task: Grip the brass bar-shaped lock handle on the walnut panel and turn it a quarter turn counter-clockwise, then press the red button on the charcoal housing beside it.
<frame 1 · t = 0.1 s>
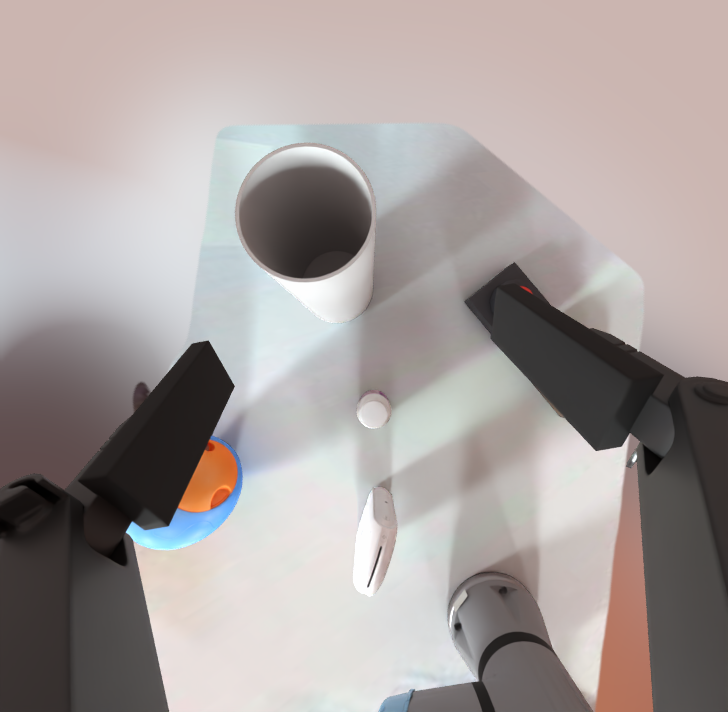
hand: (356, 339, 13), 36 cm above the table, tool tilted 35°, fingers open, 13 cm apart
pill bottle: (373, 404, 49), on the table
treat dispenser ball: (215, 466, 49), on the table
cylinder vase: (338, 289, 49), on the table
button: (518, 300, 44), point 4 cm above the table, slide at 0.1 cm
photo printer: (374, 513, 48), on the table
button box: (504, 305, 48), on the table
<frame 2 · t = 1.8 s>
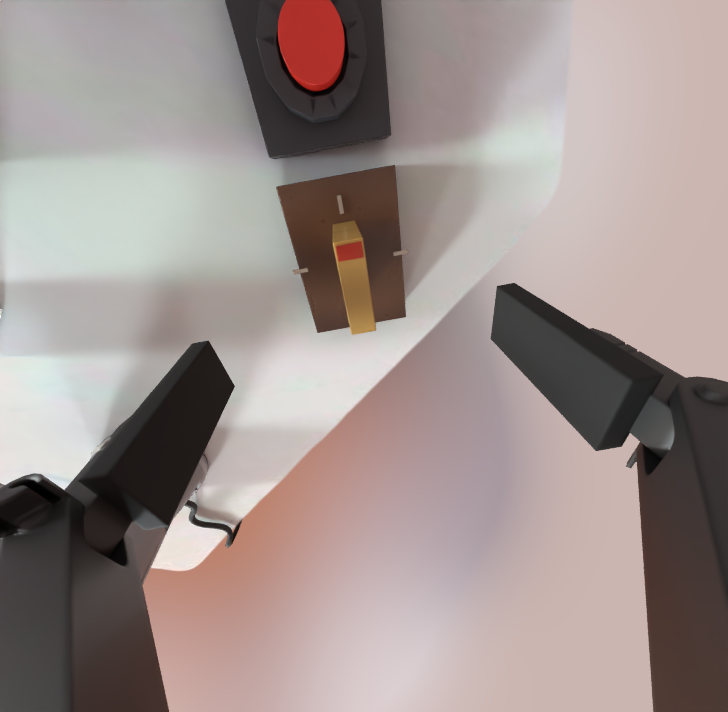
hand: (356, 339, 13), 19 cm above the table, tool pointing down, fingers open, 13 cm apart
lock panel: (349, 254, 29), on the table
lock handle: (353, 274, 23), point 7 cm above the table, hinge at 0.0°
button: (312, 45, 17), point 4 cm above the table, slide at 0.1 cm
button box: (316, 68, 21), on the table
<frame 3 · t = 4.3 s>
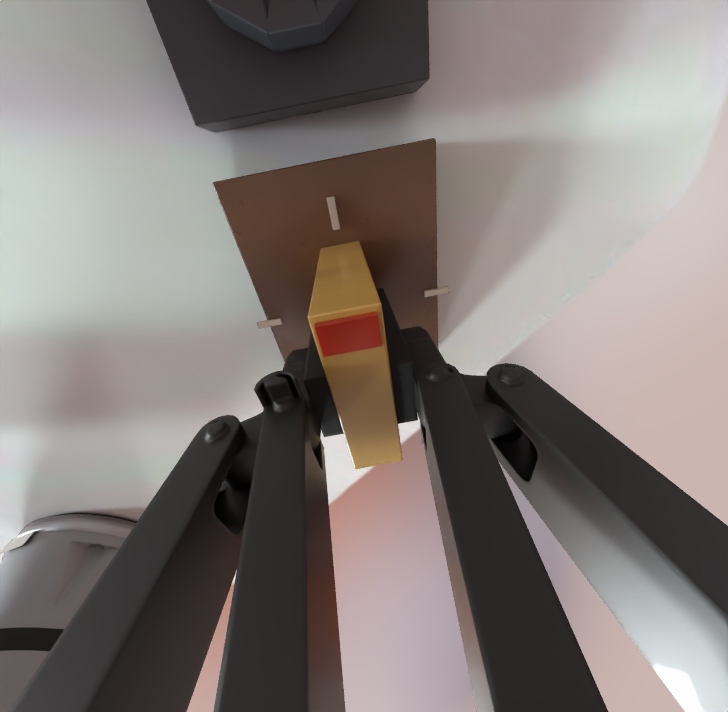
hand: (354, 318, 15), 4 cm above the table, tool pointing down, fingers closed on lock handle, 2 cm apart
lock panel: (350, 288, 18), on the table
lock handle: (357, 344, 12), point 7 cm above the table, hinge at 0.0°, touching gripper
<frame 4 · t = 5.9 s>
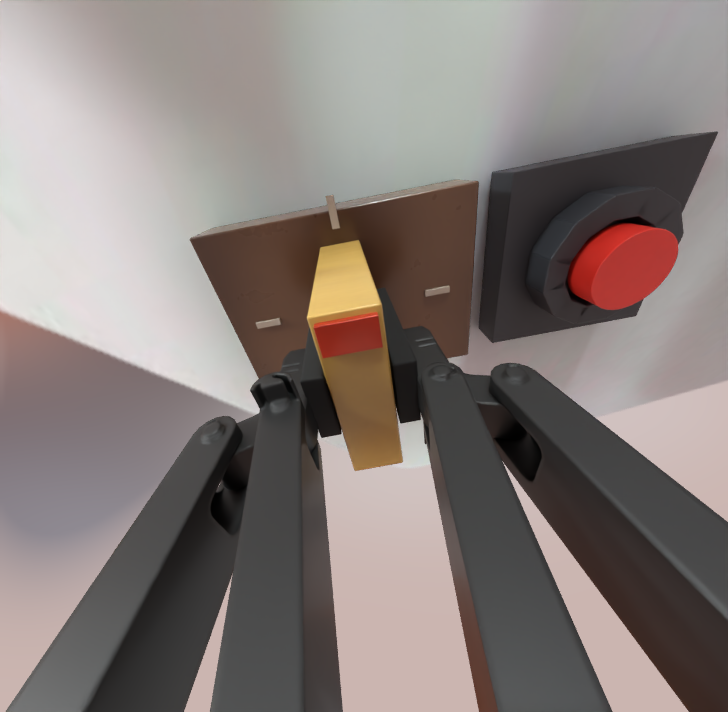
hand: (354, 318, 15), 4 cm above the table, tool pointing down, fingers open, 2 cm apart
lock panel: (349, 288, 18), on the table
lock handle: (357, 344, 12), point 7 cm above the table, hinge at 89.8°
button: (618, 267, 14), point 4 cm above the table, slide at 0.1 cm
button box: (559, 247, 18), on the table
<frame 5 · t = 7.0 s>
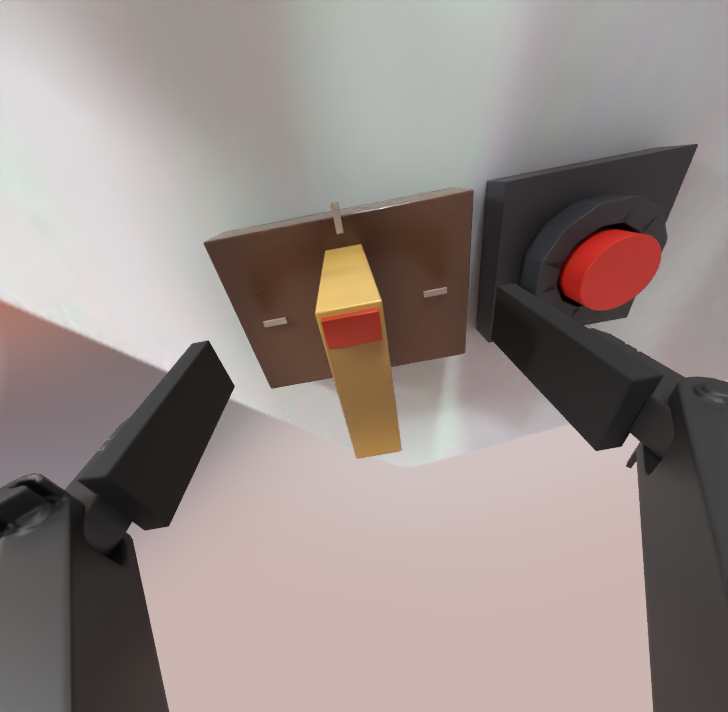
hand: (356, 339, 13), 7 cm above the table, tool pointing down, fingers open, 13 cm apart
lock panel: (352, 289, 19), on the table
lock handle: (359, 341, 13), point 7 cm above the table, hinge at 89.8°
button: (606, 270, 15), point 4 cm above the table, slide at 0.1 cm
button box: (552, 252, 19), on the table
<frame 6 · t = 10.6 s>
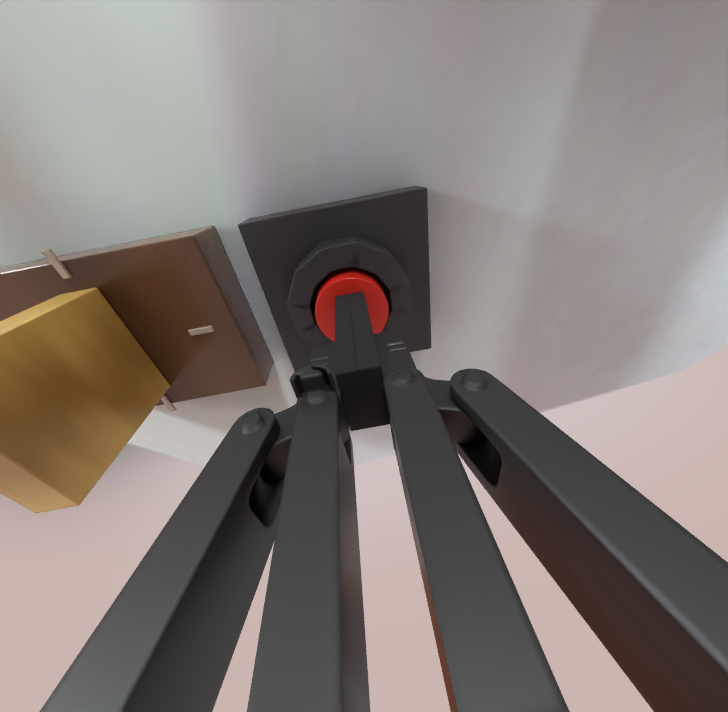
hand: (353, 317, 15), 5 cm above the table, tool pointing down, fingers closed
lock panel: (150, 322, 19), on the table
lock handle: (67, 390, 13), point 7 cm above the table, hinge at 89.8°
button: (351, 307, 16), point 4 cm above the table, slide at -0.5 cm, touching gripper
button box: (348, 284, 19), on the table
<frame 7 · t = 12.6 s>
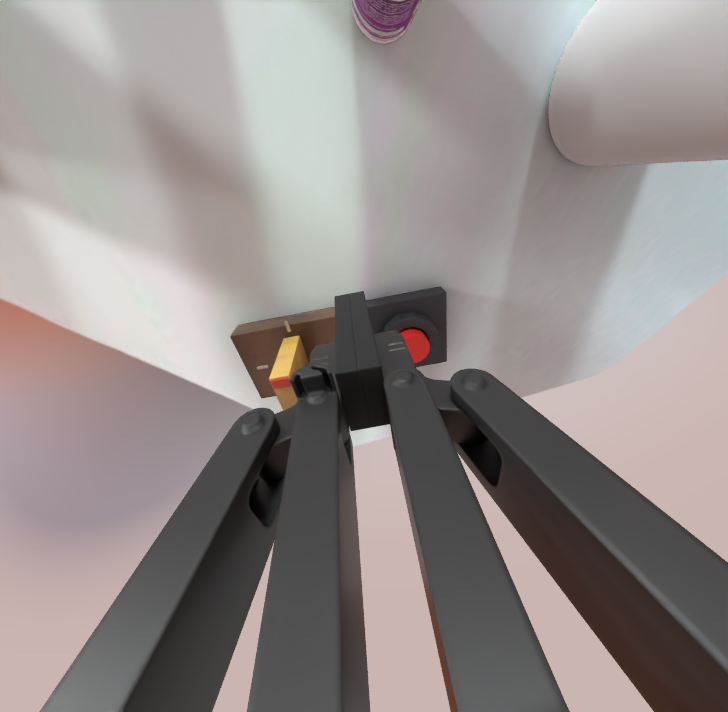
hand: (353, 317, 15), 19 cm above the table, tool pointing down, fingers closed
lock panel: (302, 347, 37), on the table
cylinder vase: (612, 82, 25), on the table
lock handle: (295, 380, 31), point 7 cm above the table, hinge at 89.8°
button: (411, 346, 33), point 4 cm above the table, slide at 0.1 cm
button box: (404, 329, 37), on the table
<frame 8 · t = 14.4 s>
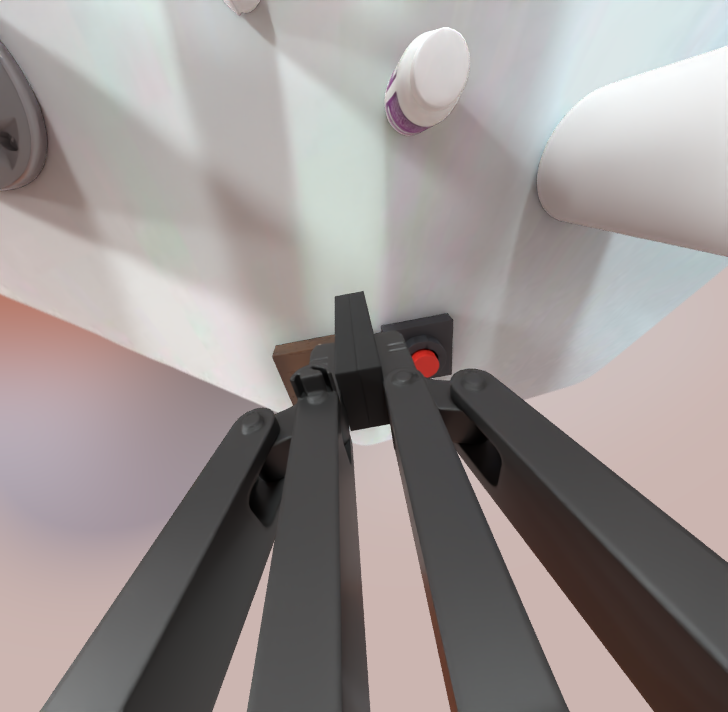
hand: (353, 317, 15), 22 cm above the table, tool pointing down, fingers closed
pill bottle: (410, 101, 27), on the table
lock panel: (329, 363, 43), on the table
cylinder vase: (587, 160, 31), on the table
button: (423, 363, 39), point 4 cm above the table, slide at 0.1 cm
button box: (416, 347, 43), on the table
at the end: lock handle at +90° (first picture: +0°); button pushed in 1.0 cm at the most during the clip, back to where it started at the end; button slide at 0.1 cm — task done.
